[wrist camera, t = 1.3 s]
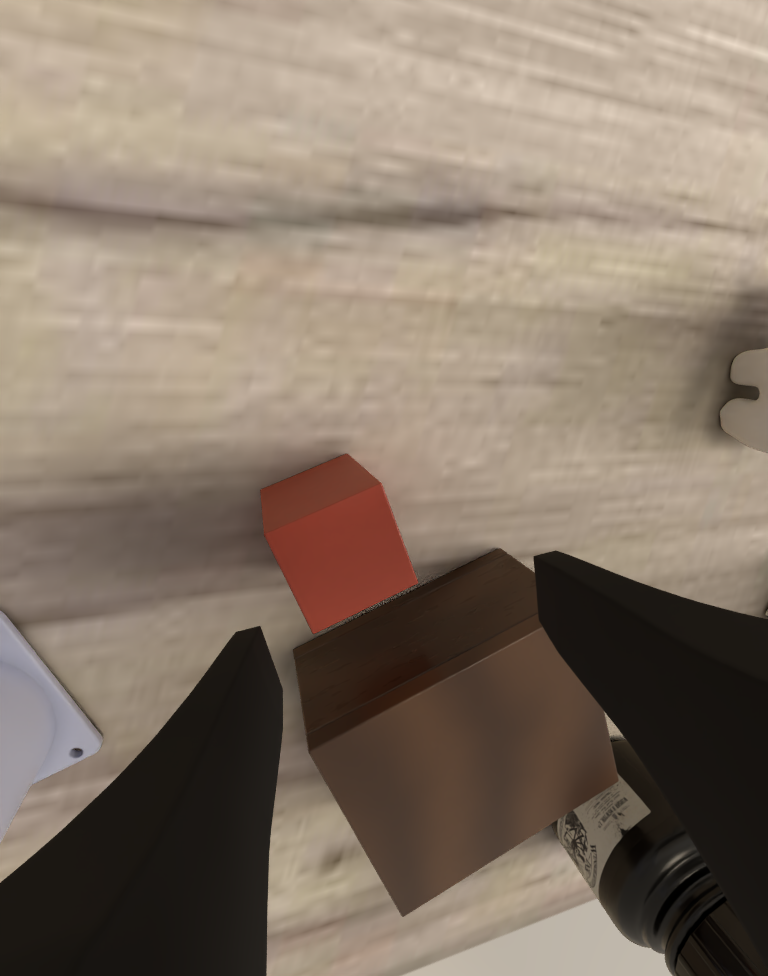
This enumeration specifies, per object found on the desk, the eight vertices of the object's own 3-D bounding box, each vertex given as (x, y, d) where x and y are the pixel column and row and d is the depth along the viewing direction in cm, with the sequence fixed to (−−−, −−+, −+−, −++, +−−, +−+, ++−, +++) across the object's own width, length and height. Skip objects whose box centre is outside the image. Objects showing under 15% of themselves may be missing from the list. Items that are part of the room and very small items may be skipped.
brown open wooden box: (367, 792, 25) (402, 918, 20) (292, 648, 22) (308, 752, 16) (541, 693, 27) (619, 781, 22) (500, 547, 24) (582, 605, 18)
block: (297, 568, 21) (313, 635, 15) (259, 489, 19) (263, 534, 14) (377, 531, 21) (418, 583, 16) (347, 453, 20) (381, 482, 15)
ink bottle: (557, 742, 29) (748, 975, 18) (660, 720, 32) (883, 911, 20) (536, 854, 31) (692, 1119, 20) (633, 824, 34) (819, 1046, 23)
